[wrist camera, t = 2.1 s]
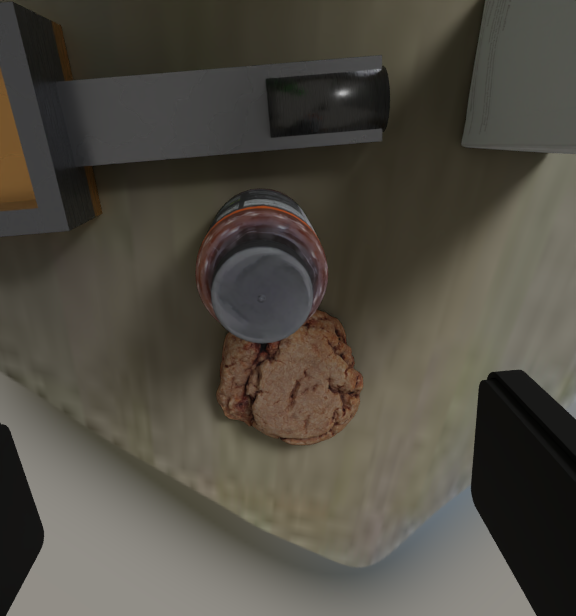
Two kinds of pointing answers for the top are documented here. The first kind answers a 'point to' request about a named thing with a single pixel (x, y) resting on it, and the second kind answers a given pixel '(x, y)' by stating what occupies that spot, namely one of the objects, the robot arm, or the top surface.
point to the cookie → (292, 382)
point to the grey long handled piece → (155, 118)
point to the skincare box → (524, 78)
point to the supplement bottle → (261, 267)
